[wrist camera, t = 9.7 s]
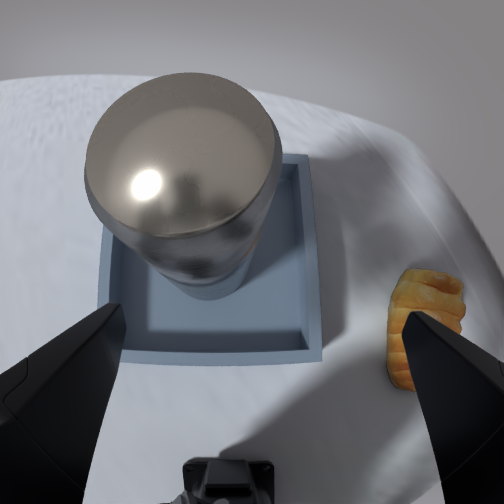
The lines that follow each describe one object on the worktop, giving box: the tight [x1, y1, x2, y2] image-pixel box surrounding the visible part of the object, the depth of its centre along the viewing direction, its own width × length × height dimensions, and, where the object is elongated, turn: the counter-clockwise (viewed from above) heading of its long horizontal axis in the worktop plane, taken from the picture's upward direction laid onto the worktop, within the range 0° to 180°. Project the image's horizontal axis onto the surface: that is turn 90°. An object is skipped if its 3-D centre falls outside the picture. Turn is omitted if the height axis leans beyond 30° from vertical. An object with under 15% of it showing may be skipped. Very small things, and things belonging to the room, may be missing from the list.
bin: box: [97, 154, 322, 366], centre depth 21 cm, size 14×14×3 cm
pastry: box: [387, 269, 466, 392], centre depth 20 cm, size 9×7×4 cm
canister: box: [84, 73, 282, 301], centre depth 15 cm, size 6×6×15 cm
